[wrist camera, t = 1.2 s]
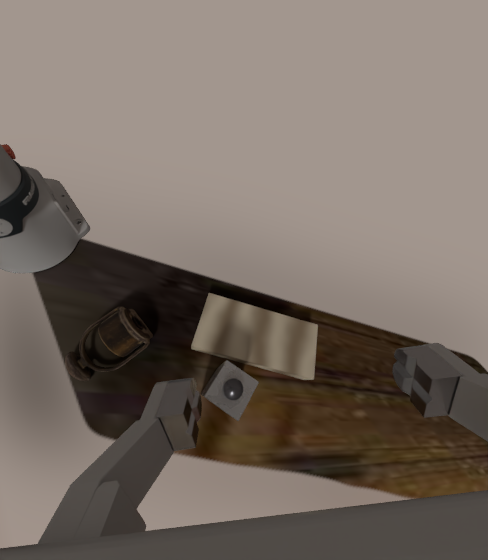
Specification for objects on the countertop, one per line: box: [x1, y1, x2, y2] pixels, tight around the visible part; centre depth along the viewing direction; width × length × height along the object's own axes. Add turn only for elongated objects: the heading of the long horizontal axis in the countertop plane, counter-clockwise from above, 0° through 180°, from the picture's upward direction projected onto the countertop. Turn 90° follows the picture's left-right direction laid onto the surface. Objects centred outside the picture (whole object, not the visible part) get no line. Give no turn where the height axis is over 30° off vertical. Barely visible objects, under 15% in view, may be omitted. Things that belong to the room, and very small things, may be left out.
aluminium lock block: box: [201, 360, 259, 421], centre depth 33 cm, size 5×5×13 cm
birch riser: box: [191, 293, 318, 380], centre depth 42 cm, size 22×10×4 cm, turn 77°
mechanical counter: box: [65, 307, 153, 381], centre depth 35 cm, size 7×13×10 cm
